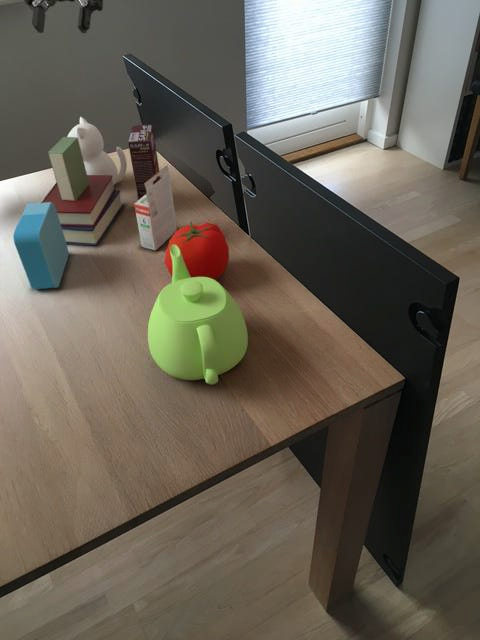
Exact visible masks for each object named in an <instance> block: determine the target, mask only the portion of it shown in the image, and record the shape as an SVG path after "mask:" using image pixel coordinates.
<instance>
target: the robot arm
mask: <svg viewBox="0 0 480 640" xmlns="http://www.w3.org/2000/svg"><path fill="white" fill-rule="evenodd" d="M75 1H76V0H23V2H24V3H25V4H26V5H27V7H28V8H29V9H30V10H31V11H32V17H31V18H32V19H31V25H32V26H33V28H34V29H35V30H36V32H37V33H39V34H43V33H44V31H45V22H46V12H47V11H48V9H50V8H51V7H54V6H55V5H56V4H57V3H59V2H60V3H62V2H71V3H72V2H73V3H74V2H75ZM78 1H79V3H80V4H81V6H80V7H79V10H78V20H77V28H78V30H79V31H80V33H81V34H87V33H88V31H89V30H90V28H91V20H92V14H93V13H94V12H95V11H98V12H102V10H103V9H104V0H78Z"/></svg>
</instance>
